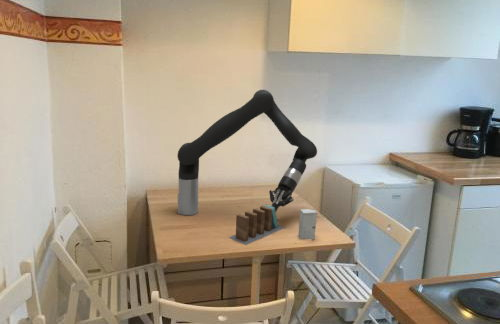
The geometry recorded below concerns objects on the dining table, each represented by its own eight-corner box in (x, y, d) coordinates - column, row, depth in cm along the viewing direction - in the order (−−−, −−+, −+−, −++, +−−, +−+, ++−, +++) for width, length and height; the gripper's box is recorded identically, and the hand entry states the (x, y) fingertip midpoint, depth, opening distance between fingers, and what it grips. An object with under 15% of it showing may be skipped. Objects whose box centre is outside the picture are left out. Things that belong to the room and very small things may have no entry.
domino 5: (269, 222, 190) (265, 204, 185) (278, 225, 186) (274, 207, 182) (266, 225, 188) (262, 206, 184) (275, 228, 185) (271, 209, 180)
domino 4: (262, 226, 186) (262, 205, 183) (271, 230, 183) (271, 208, 180) (259, 228, 185) (259, 206, 182) (268, 231, 181) (268, 209, 179)
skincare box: (301, 240, 175) (303, 213, 172) (297, 236, 179) (299, 209, 176) (315, 239, 176) (317, 212, 173) (311, 235, 180) (313, 208, 177)
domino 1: (239, 236, 175) (239, 213, 173) (248, 240, 172) (248, 217, 170) (235, 238, 174) (236, 215, 171) (244, 241, 170) (245, 218, 168)
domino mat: (268, 222, 193) (268, 221, 193) (285, 228, 186) (285, 227, 186) (227, 238, 174) (228, 237, 174) (245, 246, 168) (245, 245, 167)
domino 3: (255, 230, 182) (255, 208, 180) (263, 233, 179) (264, 211, 177) (252, 231, 181) (252, 209, 179) (260, 234, 178) (261, 212, 175)
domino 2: (247, 233, 179) (248, 210, 176) (256, 236, 176) (257, 214, 173) (244, 234, 177) (244, 212, 175) (252, 238, 174) (253, 215, 172)
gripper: (275, 172, 193) (256, 204, 187) (299, 178, 184) (280, 211, 178) (281, 181, 198) (263, 212, 192) (305, 187, 189) (287, 220, 183)
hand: (271, 212), depth 185 cm, fingers closed
